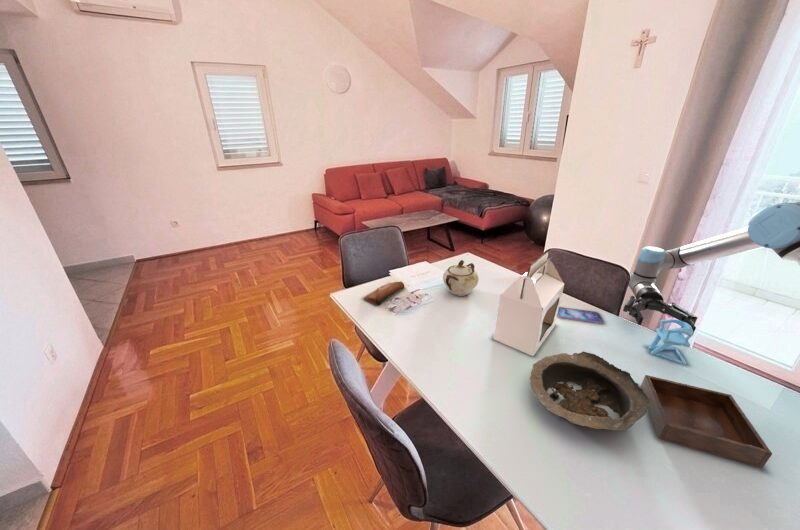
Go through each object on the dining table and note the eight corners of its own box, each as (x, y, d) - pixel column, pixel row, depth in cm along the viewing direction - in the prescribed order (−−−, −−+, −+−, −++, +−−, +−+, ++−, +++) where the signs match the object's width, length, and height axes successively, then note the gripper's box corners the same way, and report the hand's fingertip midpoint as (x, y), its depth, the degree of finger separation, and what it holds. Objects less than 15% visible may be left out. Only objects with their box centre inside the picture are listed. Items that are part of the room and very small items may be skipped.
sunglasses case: (389, 283, 142) (395, 273, 138) (400, 294, 140) (406, 284, 136) (362, 298, 129) (367, 289, 125) (373, 311, 127) (379, 301, 123)
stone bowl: (656, 416, 77) (668, 389, 72) (600, 477, 65) (610, 449, 61) (562, 358, 96) (567, 334, 91) (506, 397, 84) (509, 371, 80)
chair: (645, 344, 103) (657, 313, 98) (676, 350, 100) (690, 318, 95) (652, 359, 96) (666, 326, 91) (686, 366, 93) (701, 332, 88)
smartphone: (555, 306, 123) (598, 312, 119) (555, 308, 123) (597, 314, 119) (558, 316, 116) (604, 322, 112) (558, 318, 117) (603, 324, 113)
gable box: (532, 357, 97) (549, 276, 86) (492, 340, 105) (503, 264, 93) (554, 326, 112) (571, 253, 101) (518, 313, 120) (530, 244, 109)
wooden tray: (722, 409, 79) (731, 394, 77) (761, 470, 65) (772, 454, 63) (639, 388, 85) (645, 374, 83) (658, 439, 71) (665, 424, 69)
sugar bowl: (460, 306, 125) (463, 272, 119) (431, 293, 135) (432, 261, 129) (486, 289, 138) (490, 258, 132) (458, 279, 147) (460, 249, 141)
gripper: (685, 311, 115) (711, 345, 97) (607, 298, 124) (617, 326, 106) (693, 293, 112) (721, 325, 94) (612, 281, 121) (623, 307, 103)
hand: (666, 326), depth 100 cm, fingers open, 13 cm apart
